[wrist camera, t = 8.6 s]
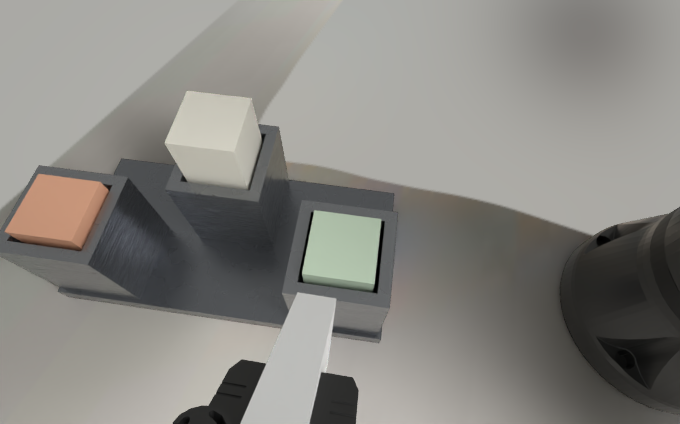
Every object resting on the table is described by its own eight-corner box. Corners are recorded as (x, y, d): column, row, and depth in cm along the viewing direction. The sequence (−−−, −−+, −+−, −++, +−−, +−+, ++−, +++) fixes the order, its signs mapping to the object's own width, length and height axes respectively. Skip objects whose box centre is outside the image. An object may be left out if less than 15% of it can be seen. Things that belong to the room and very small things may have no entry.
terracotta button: (150, 234, 35) (100, 181, 27) (131, 283, 33) (71, 241, 25) (101, 227, 35) (38, 173, 28) (79, 276, 33) (4, 231, 26)
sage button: (370, 265, 34) (381, 218, 26) (365, 317, 32) (374, 284, 24) (318, 257, 34) (314, 210, 27) (309, 309, 32) (301, 273, 24)
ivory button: (269, 170, 34) (251, 98, 27) (257, 215, 32) (234, 151, 25) (219, 163, 35) (186, 90, 27) (203, 208, 33) (164, 143, 25)
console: (392, 201, 39) (408, 139, 30) (378, 343, 33) (394, 314, 24) (128, 167, 40) (74, 98, 32) (68, 296, 34) (-19, 254, 26)
